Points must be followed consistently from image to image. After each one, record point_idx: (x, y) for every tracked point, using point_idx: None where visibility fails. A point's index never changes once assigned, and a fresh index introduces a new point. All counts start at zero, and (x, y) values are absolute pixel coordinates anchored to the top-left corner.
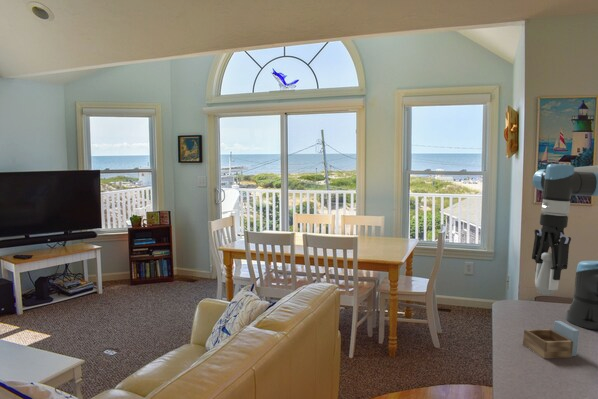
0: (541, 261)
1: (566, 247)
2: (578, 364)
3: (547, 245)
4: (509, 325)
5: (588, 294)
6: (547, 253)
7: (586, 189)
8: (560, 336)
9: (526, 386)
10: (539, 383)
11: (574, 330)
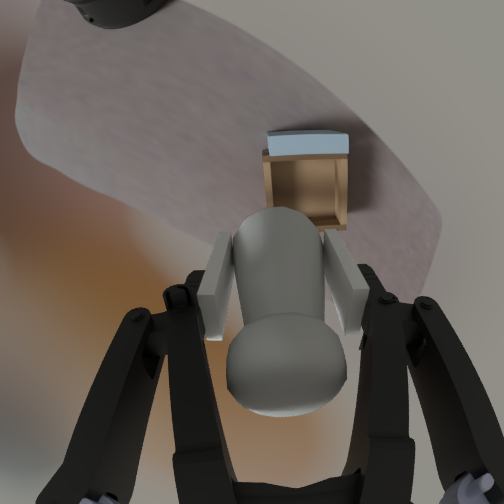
0: (199, 325)
1: (484, 431)
2: (367, 158)
3: (226, 452)
4: (151, 189)
5: None
6: (295, 411)
7: None
8: (309, 159)
9: (405, 298)
10: (405, 277)
11: (347, 148)
